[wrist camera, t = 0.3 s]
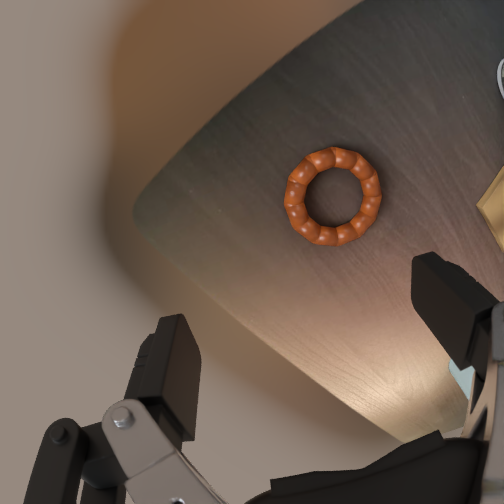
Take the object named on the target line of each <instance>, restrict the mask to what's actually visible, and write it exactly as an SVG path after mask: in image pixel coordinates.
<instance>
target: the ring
mask: <svg viewBox="0 0 504 504" xmlns="http://www.w3.org/2000/svg"><path fill="white" fill-rule="evenodd" d="M332 167H338V168H343V169H348V170H350V171H351V172H352V173H353V174H354V175H355V176H356V177H357V178H358V179H359V180H360V183H361V186H362V190H363V194H364V196H363V200H362V204H361V208H360V211H359V212H358V213H357V214H356V215H355V216H354V217H353V219H352V220H351V221H350V222H348V223H346V224H343V225H341V226H338V227H336V228H333V227H326V226H320V225H319V224H317V223H316V222H315V221H314V220H313V219H311V218H310V217H309V215H308V213H307V210H306V207H305V204H304V199H305V194H306V188H307V185H308V184H309V183H310V182H311V180H312V179H313V178H314V177H315V176H316V174H317V173H318V172H321V171H323V170H326V169H329V168H332ZM381 198H382V192H381V188H380V184H379V180H378V176H377V172H376V170H375V169H374V168H373V167H372V166H371V165H370V164H369V163H368V162H367V161H366V160H365V159H364V158H363V157H362V156H361V155H360V154H359V153H357V152H355V151H350V150H346V149H341V148H337V147H329V148H326V149H323V150H320V151H317V152H315V153H312V154H309V155H307V156H305V157H304V159H303V160H302V161H301V162H300V163H299V165H298V166H297V167H296V168H295V169H294V170H293V172H292V173H291V174H290V175H289V177H288V181H287V187H286V193H285V198H284V206H285V209H286V211H287V214H288V217H289V219H290V222H291V225H292V227H293V228H294V229H295V230H296V231H297V232H298V233H300V234H301V235H302V236H304V237H305V238H306V239H307V240H309V241H310V242H311V243H313V244H320V245H328V246H340V245H343V244H345V243H348V242H350V241H353V240H355V239H358V238H360V237H361V236H362V235H363V234H364V232H365V231H366V230H367V229H368V228H369V227H370V226H371V224H372V223H373V222H374V221H375V220H376V218H377V214H378V210H379V206H380V202H381Z"/></svg>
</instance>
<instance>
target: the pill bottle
mask: <svg viewBox="0 0 504 504" xmlns="http://www.w3.org/2000/svg"><path fill="white" fill-rule="evenodd" d="M497 80H498V85H499V89H500V92H501V94H502V96H503V98H504V59H503V60H502V61H501V62H500V64H499V66H498V70H497Z"/></svg>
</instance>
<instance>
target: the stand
mask: <svg viewBox="0 0 504 504" xmlns="http://www.w3.org/2000/svg"><path fill="white" fill-rule="evenodd" d="M476 206H477V207H478V209H479V211H480V212H481V214H482V216H483V218H484V219H485V221H486V223H487V225H488V226H489V228H490V230H491V232H492V234H493V235H494V237H495V239H496V241H497V243H498V245H499V247H500V249H501V251H502V252H504V166H503V167H502V169H501V170H500V172H499V173H498V175H497V176H496V178H495V179H494V180H493V182H492V183H491V185H490V186H489V188H488V189H487V190H486V192H485V193H484V195H483V196H482V197H481V199H480V200H479V202H478V203H477V204H476Z"/></svg>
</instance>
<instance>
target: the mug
mask: <svg viewBox="0 0 504 504" xmlns="http://www.w3.org/2000/svg"><path fill="white" fill-rule="evenodd" d="M449 370H450V372H451V374H452V375H453V377H454V378H455V380H456V381H457V383H458V384H459V386H460V387H461V389H462V390H463V392H464V394H465V395H466V397H467V398H468V400H469V399H470V392H471V384H472V377H473V373H474V370H475V369H474V368H473V367H472V366H470V367H468V368H466V369H464V370H462V371H460V370H459V369H458V367H457V366H456V365H455V363H454V362H453V360H452V359H450V362H449Z"/></svg>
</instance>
